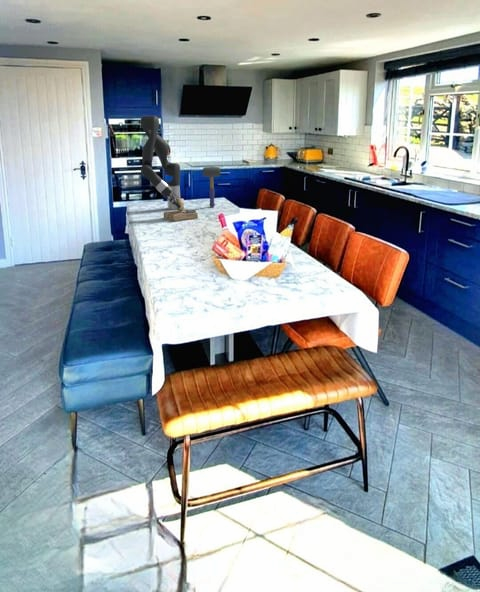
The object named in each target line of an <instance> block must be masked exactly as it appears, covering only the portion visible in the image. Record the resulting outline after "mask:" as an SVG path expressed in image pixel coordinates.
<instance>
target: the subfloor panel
mask: <svg viewBox="0 0 480 592" xmlns="http://www.w3.org/2000/svg"><path fill="white" fill-rule="evenodd" d="M186 210H188V209H187V208H186V209H185V208H184V210H183V213H178V210H177V209H176V210H169V211H164V212H163V219H166V220H169V221H172V222H174V223H175V222H181V221H189V220H195V219H196V220H197V219H199V215H198V214H199V213H198V212H197V211H196V212H195V213H186Z"/></svg>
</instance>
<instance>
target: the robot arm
mask: <svg viewBox="0 0 480 592" xmlns="http://www.w3.org/2000/svg"><path fill="white" fill-rule="evenodd" d="M140 125H141V128H142V130H143V131H144V133H145V135H146V136H147V141H145V144H144V145H143V148H142V153H141V154H142V155H141V160H142V162H141V163H142V164H141V168H140V173H141V175H142V176H143V177H145V178H146V179H147V180H148V181H149V182H150V184H151V185H152V186H154V188H155V189H156V190H157V191H158V192H159V193H160V194H161V195H162V196H163V197H164V199H165V198H166V199H167V208H168V210H170V211H177V207H178V208H180V207H181V205H180V204H179V203H178V202H177V201H176V199H178V198H181V187H180V185H181V167H180V166H181V165H180V164H179V163H177V162H176V163H175V162H169V160H168V156H169V146H168V144H167V143H166V142H167V141H166V140H165V139H164V138H163V137H162V136H160V135H159V134H158V131H159V128H160V120H159V118H158V116H156V115H142V116H141V118H140ZM154 152H155V154H156V155H157V157H158V159H159V162H160V164H161V166H162V170H163V173H164V174H165V175H166V176H169V177H172V179H171V180H168V181H167V182H165V181H164V180H163V179H162V178H161V177H160V176H159V174H157V172H155V170H154V169H153V159H154Z"/></svg>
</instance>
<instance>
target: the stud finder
mask: <svg viewBox="0 0 480 592" xmlns="http://www.w3.org/2000/svg"><path fill="white" fill-rule="evenodd" d="M195 212H197V210H196V208H189V209H187V210H186V213H195Z"/></svg>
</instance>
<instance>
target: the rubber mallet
mask: <svg viewBox="0 0 480 592" xmlns="http://www.w3.org/2000/svg"><path fill="white" fill-rule="evenodd" d="M202 176H203V177H204V178H209V207H210V208H215V205H216V203H215V188H214V178H216V177H217V178H219V177H221V168H220V167H219V166H207V167H204V166H203V168H202Z"/></svg>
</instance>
